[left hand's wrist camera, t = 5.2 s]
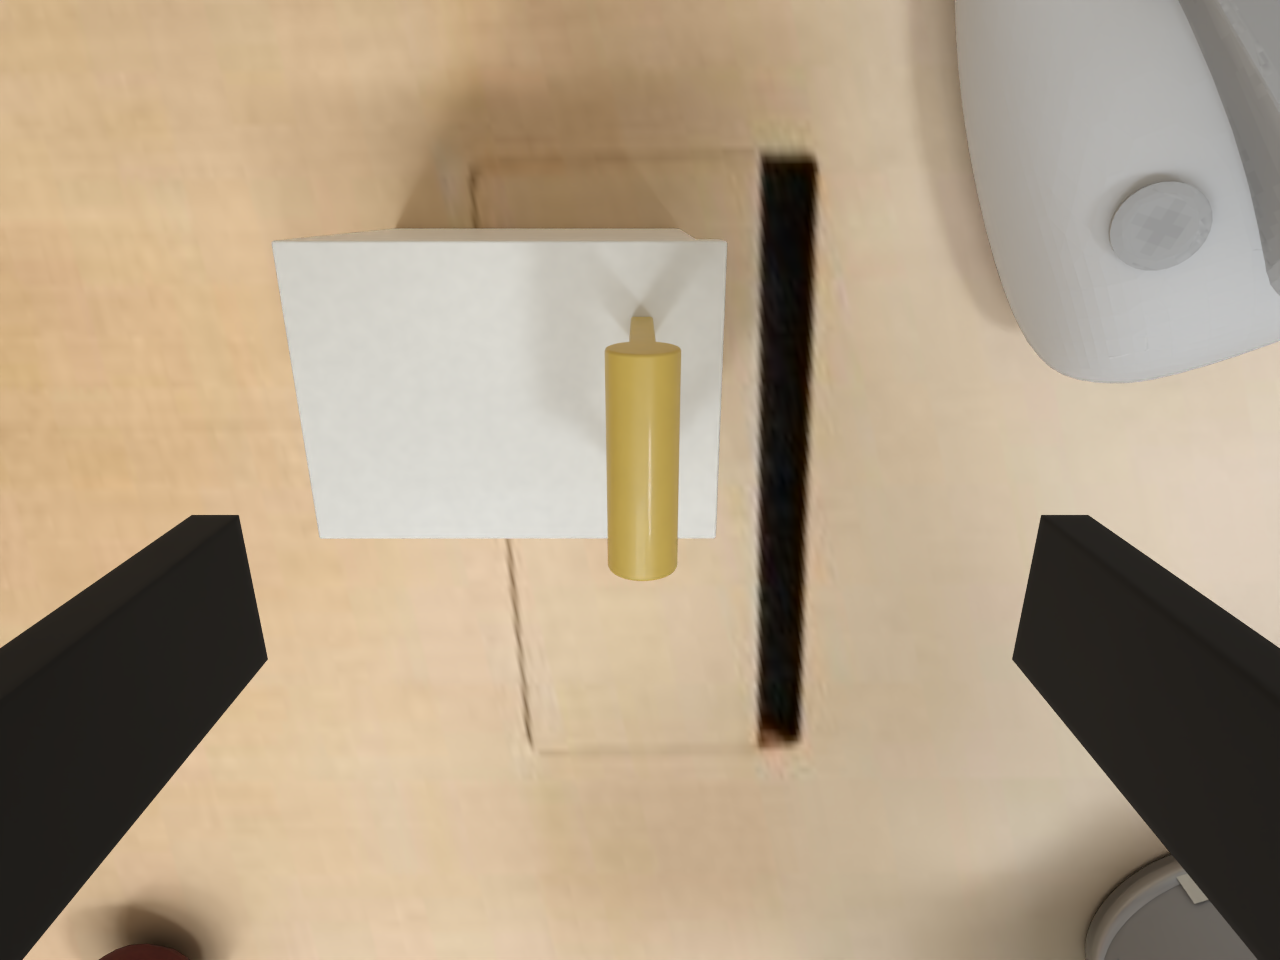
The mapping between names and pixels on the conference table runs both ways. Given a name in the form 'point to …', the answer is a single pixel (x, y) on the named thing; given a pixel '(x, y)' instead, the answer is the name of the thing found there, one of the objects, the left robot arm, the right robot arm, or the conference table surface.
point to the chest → (514, 233)
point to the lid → (511, 388)
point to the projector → (1128, 176)
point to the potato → (144, 953)
